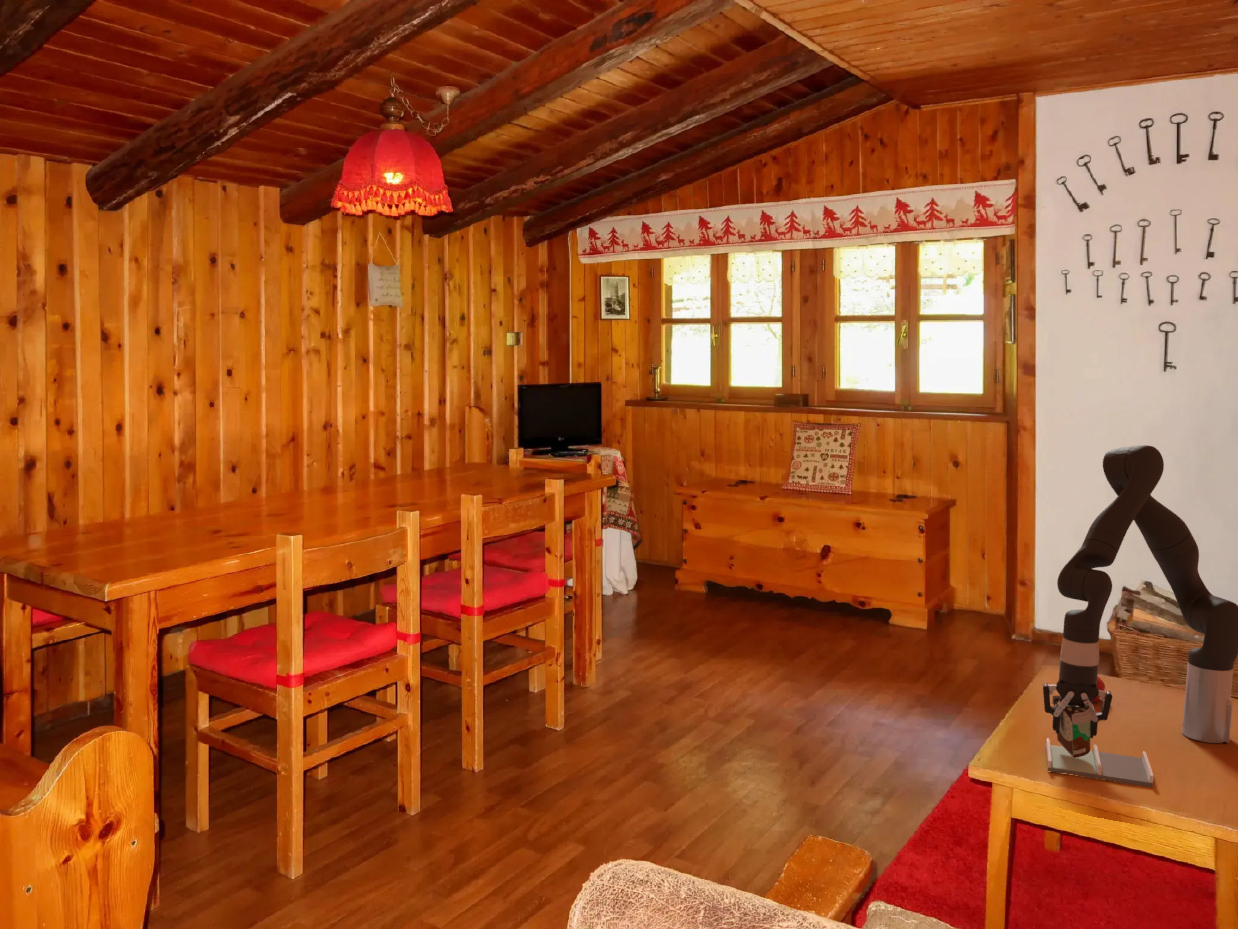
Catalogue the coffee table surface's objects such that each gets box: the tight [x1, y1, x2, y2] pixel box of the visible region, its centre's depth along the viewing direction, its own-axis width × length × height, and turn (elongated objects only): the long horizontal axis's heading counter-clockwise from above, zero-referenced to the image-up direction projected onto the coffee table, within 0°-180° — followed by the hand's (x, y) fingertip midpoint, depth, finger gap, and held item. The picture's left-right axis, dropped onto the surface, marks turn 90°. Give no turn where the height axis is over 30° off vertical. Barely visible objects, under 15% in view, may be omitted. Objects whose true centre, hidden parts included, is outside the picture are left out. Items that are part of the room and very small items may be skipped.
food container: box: [1051, 695, 1094, 758], centre depth 223 cm, size 12×6×10 cm, turn 177°
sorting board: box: [1045, 737, 1155, 788], centre depth 222 cm, size 20×14×2 cm
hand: (1073, 734), depth 223 cm, fingers closed on food container, 6 cm apart
